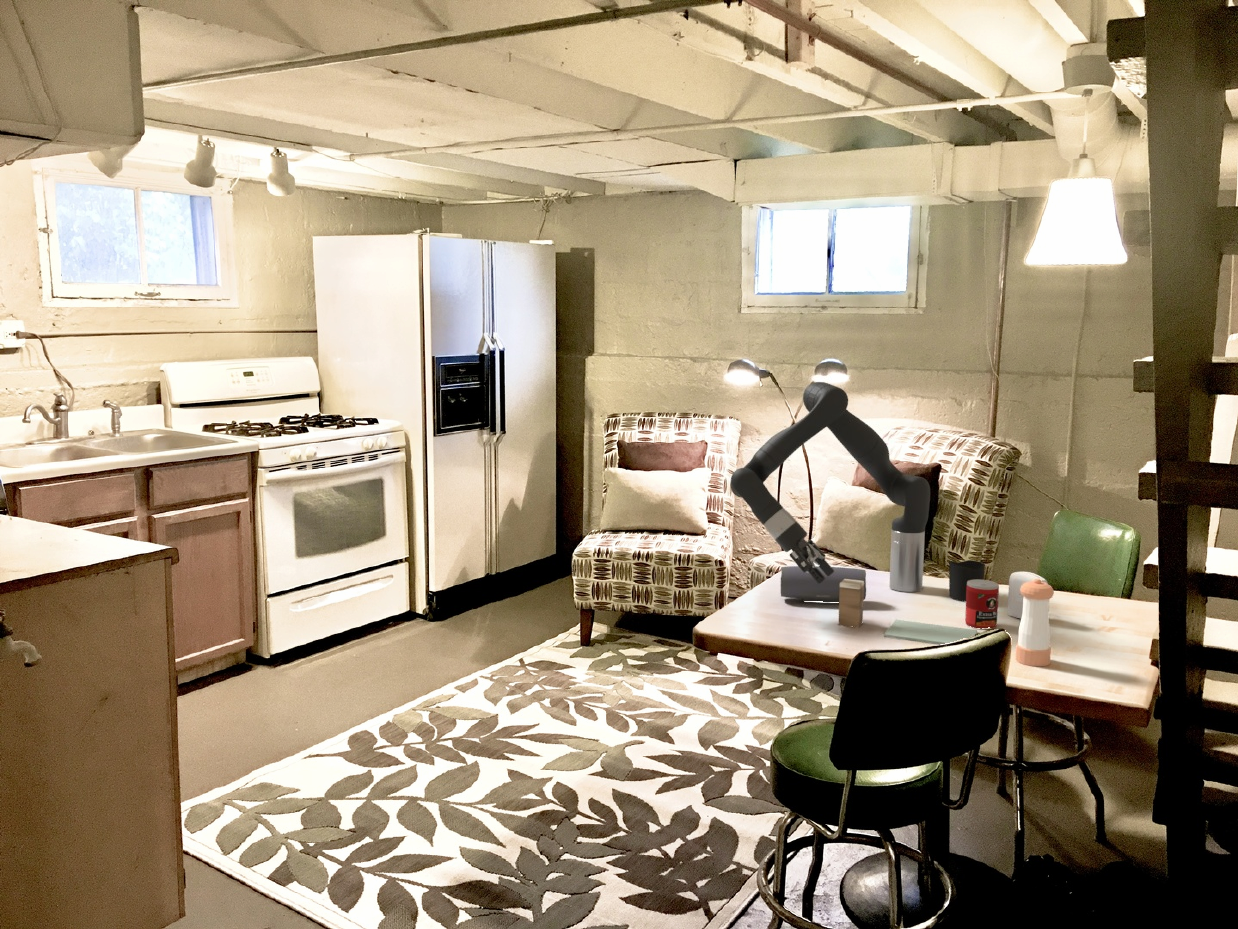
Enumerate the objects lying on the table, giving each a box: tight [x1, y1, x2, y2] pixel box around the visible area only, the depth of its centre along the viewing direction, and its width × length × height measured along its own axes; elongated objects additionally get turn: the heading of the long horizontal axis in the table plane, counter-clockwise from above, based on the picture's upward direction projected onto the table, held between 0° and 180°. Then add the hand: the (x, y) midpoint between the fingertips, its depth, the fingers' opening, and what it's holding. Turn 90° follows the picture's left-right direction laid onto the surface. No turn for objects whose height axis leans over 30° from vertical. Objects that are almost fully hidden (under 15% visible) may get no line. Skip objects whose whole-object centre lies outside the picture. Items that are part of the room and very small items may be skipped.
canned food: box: [964, 579, 1000, 630], centre depth 252 cm, size 8×8×11 cm
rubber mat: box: [883, 619, 978, 645], centre depth 244 cm, size 14×20×1 cm
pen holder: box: [948, 559, 986, 602], centre depth 277 cm, size 9×9×10 cm
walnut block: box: [837, 579, 864, 628], centre depth 253 cm, size 5×5×11 cm
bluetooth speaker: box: [780, 565, 867, 602], centre depth 273 cm, size 23×9×10 cm, turn 82°
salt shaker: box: [1015, 579, 1055, 667], centre depth 224 cm, size 7×7×19 cm
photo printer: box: [1007, 571, 1049, 620], centre depth 257 cm, size 10×4×12 cm, turn 29°
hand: (827, 577), depth 255 cm, fingers open, 8 cm apart
